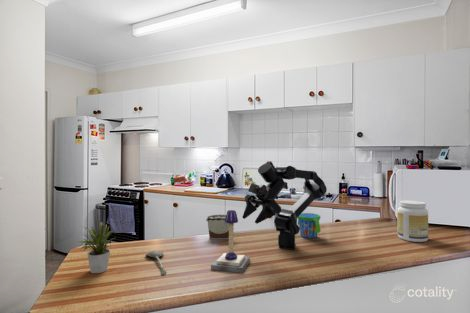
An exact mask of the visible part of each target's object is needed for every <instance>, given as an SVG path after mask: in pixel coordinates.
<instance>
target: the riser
mask: <svg viewBox="0 0 470 313" xmlns="http://www.w3.org/2000/svg"><path fill="white" fill-rule="evenodd" d="M227 253H228V252H227ZM227 253H226V252H223V253H221V254H220V255H219V256H218V257H217V258H216V259H215V260H214V261H213V262H212V263H211V264H210V270H215V271H224V272H233V273H241V274H242V273H244V272H245V269H246V268H247V266H248V264H249V263H250V262H251V257H250V256H246V255H245V254H236V253H235V254H236V255H237V259H234V260H228V259H225V256H226V254H227Z"/></svg>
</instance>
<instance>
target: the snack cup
mask: <svg viewBox="0 0 470 313" xmlns="http://www.w3.org/2000/svg"><path fill="white" fill-rule="evenodd" d="M320 220H321V215H320V214H317V213H311V212H302V213H301V214H300V215H299V216H298V218H297V225H298V226H299V228H300V230H299V234H300V236H301V237H303V238H305V239H314V238H316V237H317V236H318V234H319V233H321V231H322V230H321V225H320Z"/></svg>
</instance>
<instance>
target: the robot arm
mask: <svg viewBox="0 0 470 313" xmlns="http://www.w3.org/2000/svg"><path fill="white" fill-rule="evenodd" d="M257 173H258V174H259V175H260V176H261V178H262V179H263V180H264V182H265V183H267V185H265V184H261V183H260V184H255V183H250V185H249V188H248V192H249V194H248V193H247V194H246V195H245V196H244V201H245V204H246V205H245V208H244V210H243V211H244V212H243V213H242V214H243V215H242V217H241V218H242V219H243V220H245V219H247V218H248V217H249V216H250V215H252V214H253V213H254V212H256V211H257V210H258V208H259V207H260V206H261V207H262V208H261V211H260V213H258V215H257V217H256V219H255V221H254V223H255V224H256V225H257V224H259V223H261V222H263V221H266V220H267V219H269V218H272V217H274V219H273V221H274V222H273V223H274V226H275V229H276V231H277V232H279V234H278V235H277V236H278V237H277V238H278V240H277V241H278V243H277V245H278V248H279V249H288V250H290V249H291V250H295V249H296V246H297V243H296V235H298V234H300V228H299V225H298V216H299V215H300V214H301V213H304V211H305V210H306V209H307V208H308V207H309V206H310V205H311V204H312V202H314V201H315V200H318V199H321V198H322V197H324V196H325V194H326V193H327V186H326V184H325V181H324V180H323V179H322V178H321V177H320V176H319V175H318V173H317V172H316V171H314V170H305V169H304V170H302V169H297V168H296V167H295V166H292V165H285V164H283V165H282V164H281V165H278V164H277V165H276V167H275V165H274V163H273V161H271V160H269V161H268V160H267V161H266V163H263V164H262V165H261V166H259V167H258V169H257ZM294 179H302V180H304V186H305V192H304V193H303V194H302V195H301V196H300V198H298V200H297V201H296V202H295V203H294V204H293V205H291V207H289V209H285V208H282V207H281V205H280V204H279V203H278V202H277V201H276V200H278V199H279V198H280V197H279V196H278V195H280V193H281V191H282V190H283V189H284V190H288V189H289V186H288V182H287V180H294ZM284 180H286V181H284ZM311 181H313V182H311ZM250 193H252V194H250Z"/></svg>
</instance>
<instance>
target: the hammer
mask: <svg viewBox="0 0 470 313" xmlns="http://www.w3.org/2000/svg"><path fill="white" fill-rule="evenodd" d="M162 255H164V252H163V251H160V250H152V251H149V252H147V254H145V256H147V257H152V258H155V259H156V260H157V262H158V264H159V266H160V269H161V271H160V275H166V274H167V271H166V270H165V268H164V266H163V264H162V261H161V259H160V257H161V256H162Z"/></svg>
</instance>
